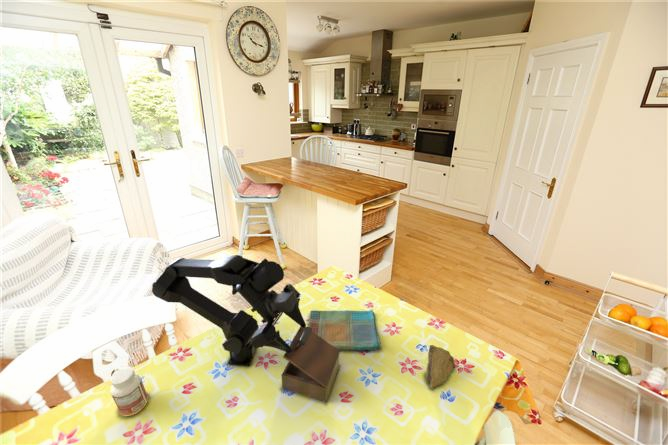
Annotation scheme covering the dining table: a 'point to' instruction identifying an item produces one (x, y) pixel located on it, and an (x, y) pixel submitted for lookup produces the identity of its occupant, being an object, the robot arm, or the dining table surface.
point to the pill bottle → (128, 391)
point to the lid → (312, 355)
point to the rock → (438, 366)
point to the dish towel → (346, 329)
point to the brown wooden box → (306, 382)
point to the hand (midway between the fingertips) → (298, 338)
